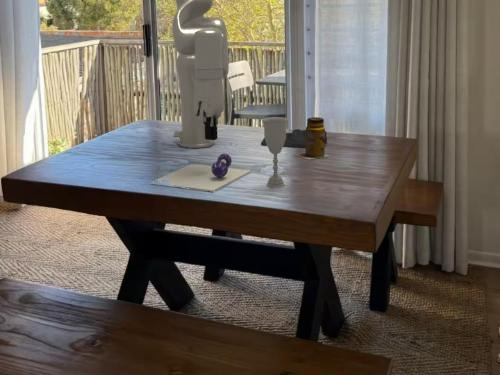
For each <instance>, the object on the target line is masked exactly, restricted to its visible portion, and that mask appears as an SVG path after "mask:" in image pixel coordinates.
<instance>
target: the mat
mask: <svg viewBox="0 0 500 375" xmlns="http://www.w3.org/2000/svg"><path fill="white" fill-rule="evenodd" d="M211 168H212V165H205V164H195V163H191V164H188V165H186V166H184V167H181V168H179V169H177V170H175V171H173V172H170V173H168V174H166V175H164V176H162V177H159V178H157V179H155V181H156V180H158V182H159V181H160V183H161V184H162V181H161V180H163V178H164V179H165V178H166V176H167V177H168V179H169V181H170V185H174V186H180V187H185V188H189V189H195V190H194V191H197V190H201V191H200V192H205V191H210V192H209V193H212V192H214V191H216V190H218V189H219V190H221V189H223V188H225V187H227V186H229V185H230V184H232V183H234V182H236V181H238V180H240V179H241V178H244V177H246V176H247V175H249V174H251V173H252V171H251V170H249V169H241V168H233V167H231V168H230V167H228V172H227V174H226V175H225V176H224V177H216V176H214V175H213V173H212V170H211ZM153 183H154V180H153ZM160 183H159V184H160ZM222 187H223V188H222ZM189 189H188V190H189ZM219 190H218V191H219ZM216 192H217V191H216ZM214 193H215V192H214Z"/></svg>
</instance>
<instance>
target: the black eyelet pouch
mask: <svg viewBox="0 0 500 375" xmlns="http://www.w3.org/2000/svg"><path fill="white" fill-rule="evenodd" d="M327 136H328V135H327V131H326V130H325V145H327V142H328V137H327ZM260 145H261V146H262V147H268V146H267V144H266V141H265V138H263V139H262V141H261V142H260ZM283 148H289V149H290V148H291V149H305V150H306V129H303V130H301V129H300V128H299V129H297V128H296V129H293V131H292V132H286V140H285V143H284V146H283Z"/></svg>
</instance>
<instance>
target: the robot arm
mask: <svg viewBox="0 0 500 375" xmlns="http://www.w3.org/2000/svg"><path fill="white" fill-rule="evenodd" d="M175 4H176V7H177V10H176V11H175V13H174V15H173V20H172V34H173V35H172V36H173V44H174V48H175V51H176V52H177V53H178V54H179V55H177V58H176V61H175V63H176V64H175V65H176V72H177V76H178V77H177V78H178V82H179V92H180V93H179V95H180V111H181V112H180V114H181V130H175V131H174V132H173V135H172V136H173V137H174V138H179V140H178V141H177V144H179V145H180V146H179V145H178V146H179V147H181V146H183V147H182V148H185V147H188V148H187V149H199V148H201V149H202V148H208V147H212V146H214V145H215V140H216V141H217V140H218V124H219V118H220V117H222V114H223V112H224V110H225V94H224V84H223V79H226V78H227V77H228V75H229V71H230V70H229V69H230V68H229V67H230V65H229V64H230V62H229V47H228V46H229V44H228V30H227V25H226V23H225V21H224V20H223V19H222V18H220V17H216V16H214V17H205V16H204V15H205V14H207V13H208V12H209V11H210V10H211V9H212V8H213V4H214V0H175Z"/></svg>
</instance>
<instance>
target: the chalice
mask: <svg viewBox="0 0 500 375" xmlns="http://www.w3.org/2000/svg"><path fill="white" fill-rule="evenodd" d="M261 120H262V123H263V125H264V127H263V128H264V130H263V131H264V134H263V136H264V138H265V141H266V144H267V146H266V147H267V148H268V150H269V152H270V154H272V155H273V159H272V163H273V166H272V167H271V168H272V170H273V174H272V175H270V177H269V178H268V181H267V183H266V185H265V186H266V187H268V188H272V189H273V188H277V189H278V188H283V187H284V186H286V184H285V182H284V180H283V178H282V176H280V175H279V174H278V169H279V167H278V162H279V160H278V154H280V153H281V151H282V149H283V148H284V147H283V146H284V143H285V140H286V133H287V123H288V121H289V119H288V118H287V117H282V116H280V117H279V116H275V117H274V116H271V117H264V118H262V119H261ZM264 138H263V139H264Z"/></svg>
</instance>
